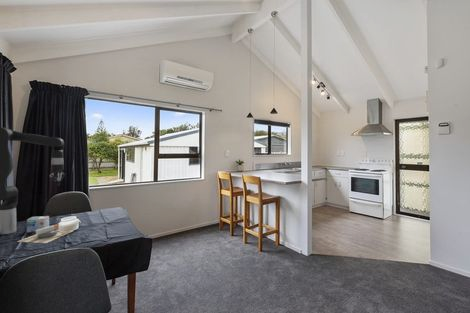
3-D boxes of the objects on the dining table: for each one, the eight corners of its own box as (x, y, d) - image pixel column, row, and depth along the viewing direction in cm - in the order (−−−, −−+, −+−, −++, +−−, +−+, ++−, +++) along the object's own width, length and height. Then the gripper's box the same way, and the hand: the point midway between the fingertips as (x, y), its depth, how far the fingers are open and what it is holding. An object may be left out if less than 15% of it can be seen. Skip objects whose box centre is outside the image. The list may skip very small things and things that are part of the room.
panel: (16, 243, 142) (16, 241, 142) (48, 231, 164) (48, 229, 164) (46, 245, 140) (46, 242, 140) (74, 232, 162) (74, 230, 162)
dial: (41, 239, 144) (40, 231, 144) (32, 237, 148) (32, 228, 148) (61, 233, 156) (61, 225, 155) (53, 231, 160) (53, 223, 160)
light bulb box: (26, 234, 158) (26, 219, 157) (32, 231, 164) (32, 216, 164) (44, 233, 160) (44, 218, 160) (49, 230, 167) (49, 215, 167)
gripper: (60, 163, 180) (60, 184, 180) (45, 164, 166) (45, 187, 167) (69, 163, 179) (69, 184, 179) (54, 164, 166) (54, 187, 166)
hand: (57, 185), depth 173 cm, fingers closed
